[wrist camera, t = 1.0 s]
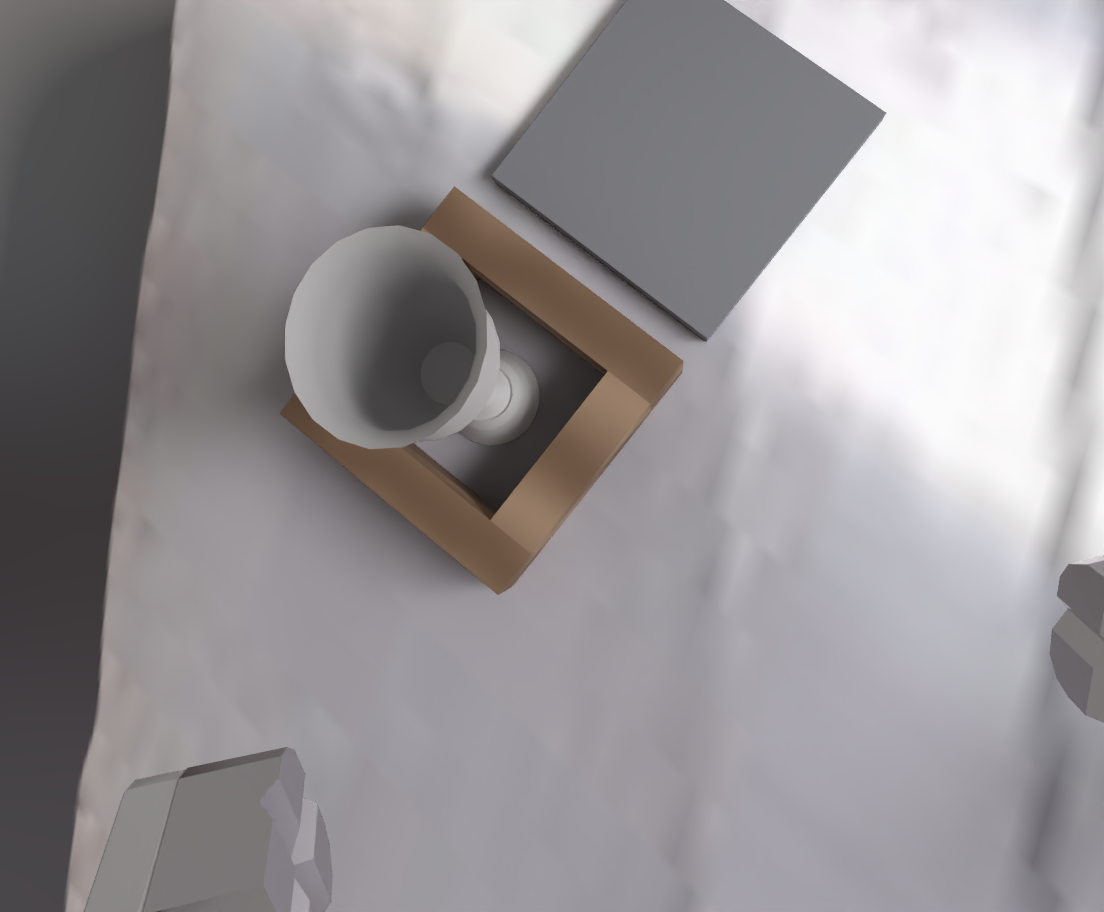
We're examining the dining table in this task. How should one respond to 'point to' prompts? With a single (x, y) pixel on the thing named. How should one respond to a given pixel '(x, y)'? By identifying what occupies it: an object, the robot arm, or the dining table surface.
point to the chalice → (402, 346)
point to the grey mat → (687, 152)
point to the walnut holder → (576, 452)
